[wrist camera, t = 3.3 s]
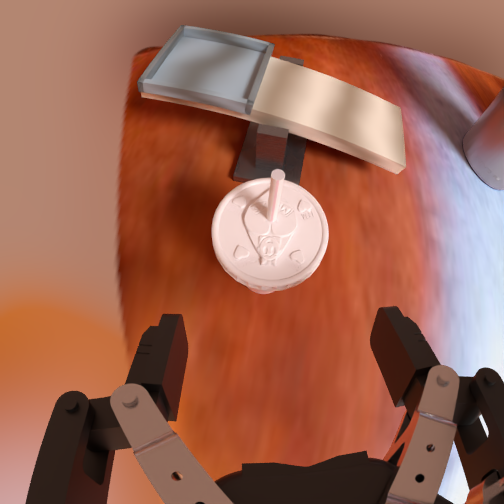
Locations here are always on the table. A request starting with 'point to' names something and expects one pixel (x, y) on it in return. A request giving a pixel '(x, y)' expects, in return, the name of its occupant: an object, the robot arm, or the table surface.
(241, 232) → the smoothie
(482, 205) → the table surface
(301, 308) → the table surface
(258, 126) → the pivot stand
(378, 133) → the balance beam
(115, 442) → the robot arm
